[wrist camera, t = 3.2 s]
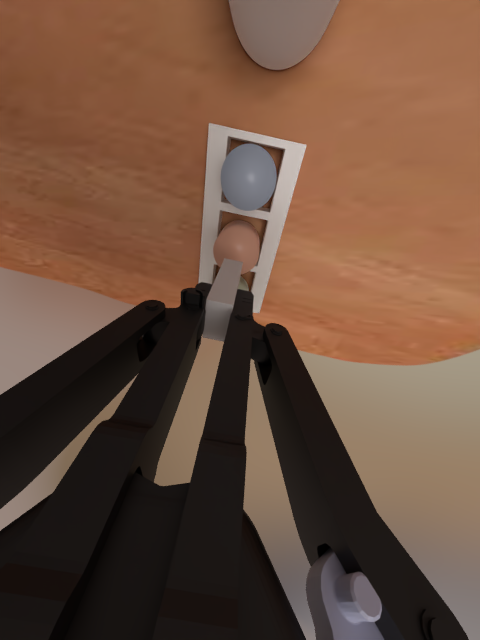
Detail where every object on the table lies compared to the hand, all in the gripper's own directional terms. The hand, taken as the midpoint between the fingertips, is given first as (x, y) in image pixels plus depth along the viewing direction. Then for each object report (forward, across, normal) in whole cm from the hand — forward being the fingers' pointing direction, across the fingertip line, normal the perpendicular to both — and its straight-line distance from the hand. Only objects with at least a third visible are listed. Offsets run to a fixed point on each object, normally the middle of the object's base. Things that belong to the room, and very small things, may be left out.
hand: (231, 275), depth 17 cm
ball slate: (+9, 0, +6) cm, 11 cm away
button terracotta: (+9, 0, 0) cm, 9 cm away
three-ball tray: (+12, 0, 0) cm, 12 cm away
